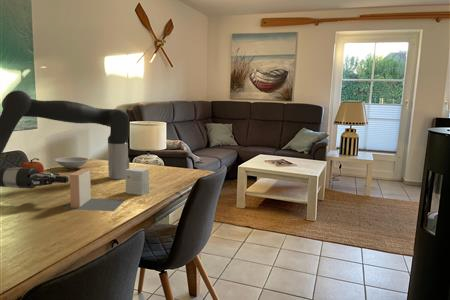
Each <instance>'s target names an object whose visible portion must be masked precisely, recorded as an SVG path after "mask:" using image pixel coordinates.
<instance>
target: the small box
mask: <svg viewBox="0 0 450 300" xmlns="http://www.w3.org/2000/svg"><path fill="white" fill-rule="evenodd" d="M125 193H126V194H130V195H132V194H133V195H138V196H144V195H148V194H150V169H149V168H144V167H129V169H126V170H125Z"/></svg>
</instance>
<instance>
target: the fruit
mask: <svg viewBox="0 0 450 300" xmlns="http://www.w3.org/2000/svg"><path fill="white" fill-rule="evenodd" d="M34 160H36V161H34ZM39 161H40V159H39V158H36V157H33V159H30V161H25V162H23V163H22V164H21V166H20V168H35V169H36V170H37V171H38V173H39V174H40V173H41V172H45V168H44V165H43V163H41V161H40V162H39Z"/></svg>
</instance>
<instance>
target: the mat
mask: <svg viewBox="0 0 450 300" xmlns="http://www.w3.org/2000/svg"><path fill="white" fill-rule="evenodd" d="M125 201H126V199H119V198H118V199H114V198H93V197H91V200H90V201H88V202H87V203H86V204H84V205H83V206H81V207H80V208H71V202H70V203H68V204H67V205H65V206H64V207H62V208H61V209H62V210H80V211H81V210H82V211H101V212H103V211H105V212H115V211H116V210H117V209H118V208H119V207H120V206H121V205H122V204H124V202H125Z"/></svg>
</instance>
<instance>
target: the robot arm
mask: <svg viewBox="0 0 450 300" xmlns="http://www.w3.org/2000/svg"><path fill="white" fill-rule="evenodd" d="M1 108H2V112H1V114H0V157H1V156H2V154H3V152H4V150H5V149H6V146H7V145H8V142H9V140H10V138H11V136H12V134H13V132H14V130H15V128H16V127H17V125H18V124H19V122H20V121H21V120H22V118H23V117H28V118H29V117H30V118H41V119H47V120H50V121H51V120H52V121H59V122H64V123H69V124H96V125H101V126H106V127H109V128H110V134H109V135H108V137H107V155H108V156H107V157H108V158H107V161H108V162H107V164H108V166H107V167H108V172H107V173H108V179H111V180H126V178H125V170H126V169H129V168H130V158H129V149H128V147H129V143H128V142H129V141H128V140H129V136H130V115H129V114H128V112H126V111H125V110H123V109H118V108H117V109H116V108H98V107H94V106H91V105H87V104H84V103H80V102H76V101H70V100H39V99H34V98H31V96H30V95H29V94H28V93H27V92H25V91H24V90H18V89H17V90H12V91H10V92H9V93H8V94H6V96H4V98H2V101H1ZM68 182H69V176H68V175H60V174H59V173H57V172H54V171H50V172H45V171H44V172H41V173H40V174H39V173H38V171H37V170H36V169H35V168H21V167H0V188H11V189H12V188H13V189H35V188H36V187H42V186H51V185H53V184H57V183H58V184H67V183H68Z"/></svg>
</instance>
